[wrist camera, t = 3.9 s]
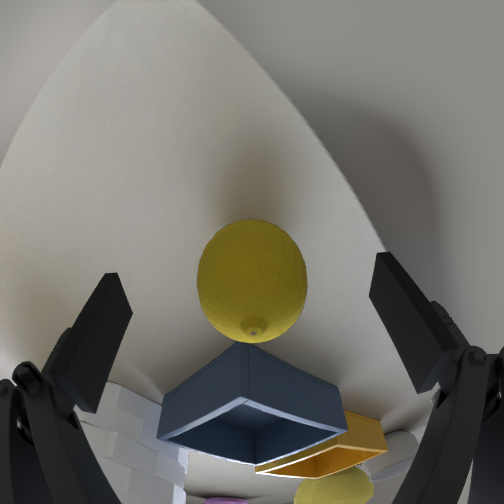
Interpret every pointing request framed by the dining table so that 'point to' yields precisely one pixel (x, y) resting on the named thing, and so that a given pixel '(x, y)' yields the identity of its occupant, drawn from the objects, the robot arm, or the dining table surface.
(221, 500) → the teapot
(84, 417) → the white brick well
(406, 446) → the teacup
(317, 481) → the vase
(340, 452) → the yellow bin
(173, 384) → the dining table surface
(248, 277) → the lemon
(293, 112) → the dining table surface
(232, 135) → the dining table surface
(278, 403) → the blue bin
